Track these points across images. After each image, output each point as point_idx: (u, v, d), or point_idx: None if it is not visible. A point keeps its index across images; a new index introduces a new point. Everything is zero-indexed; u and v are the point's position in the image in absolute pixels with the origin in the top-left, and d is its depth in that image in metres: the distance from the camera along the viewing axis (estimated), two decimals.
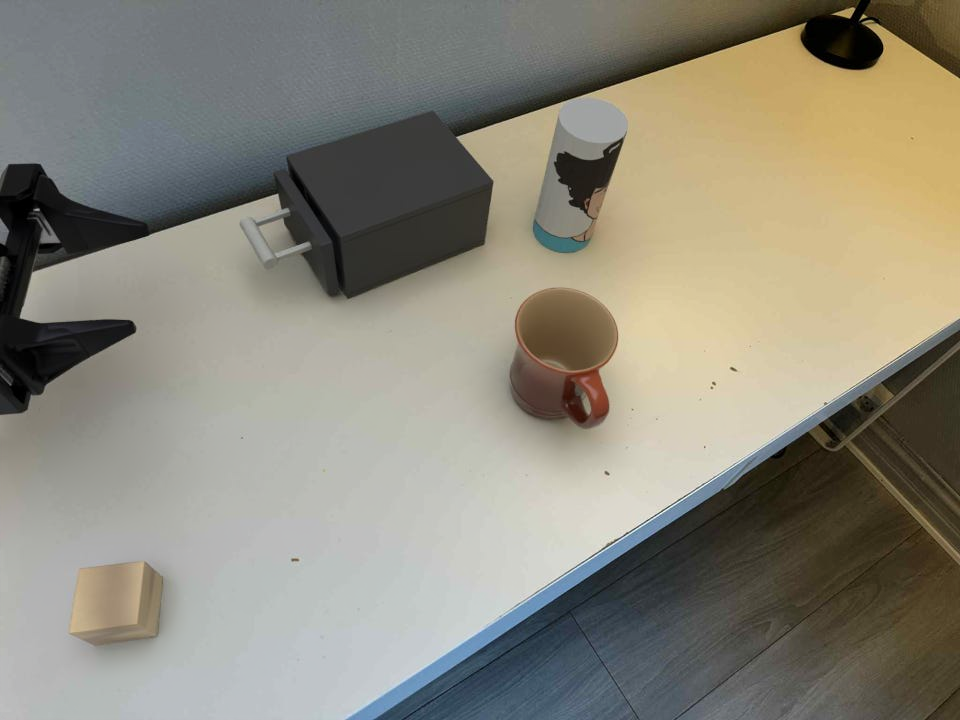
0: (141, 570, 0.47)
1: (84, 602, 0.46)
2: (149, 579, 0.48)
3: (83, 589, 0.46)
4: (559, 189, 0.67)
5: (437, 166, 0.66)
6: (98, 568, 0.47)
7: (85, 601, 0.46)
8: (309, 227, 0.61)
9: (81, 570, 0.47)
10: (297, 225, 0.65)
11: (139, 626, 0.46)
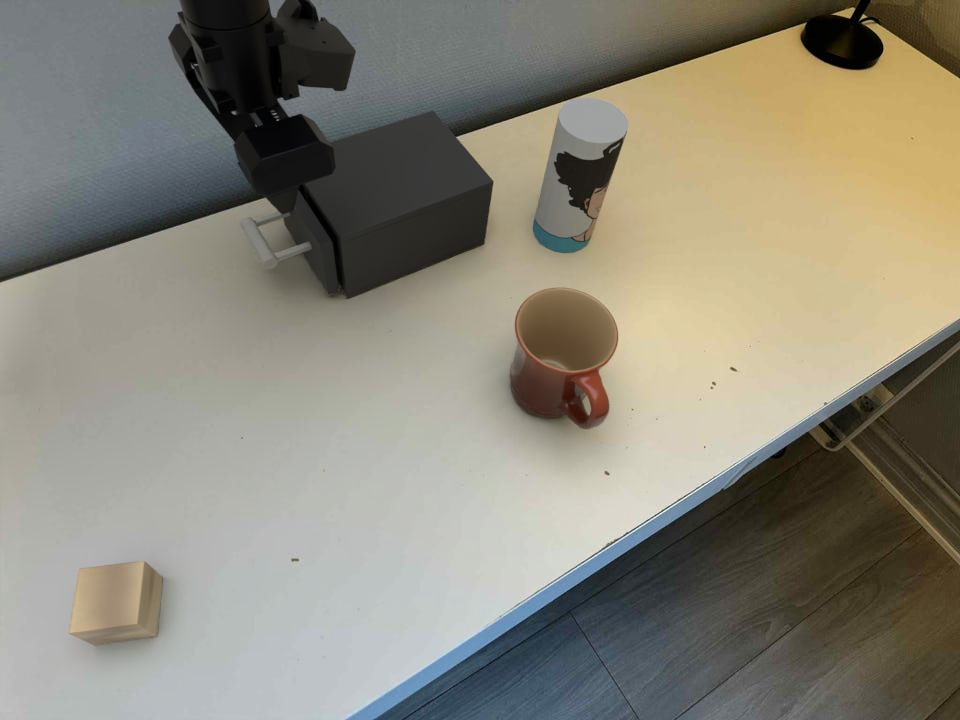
0: (141, 570, 0.47)
1: (84, 602, 0.46)
2: (149, 579, 0.48)
3: (83, 589, 0.46)
4: (559, 189, 0.67)
5: (437, 166, 0.66)
6: (98, 568, 0.47)
7: (85, 601, 0.46)
8: (309, 227, 0.61)
9: (81, 570, 0.47)
10: (297, 225, 0.65)
11: (139, 626, 0.46)
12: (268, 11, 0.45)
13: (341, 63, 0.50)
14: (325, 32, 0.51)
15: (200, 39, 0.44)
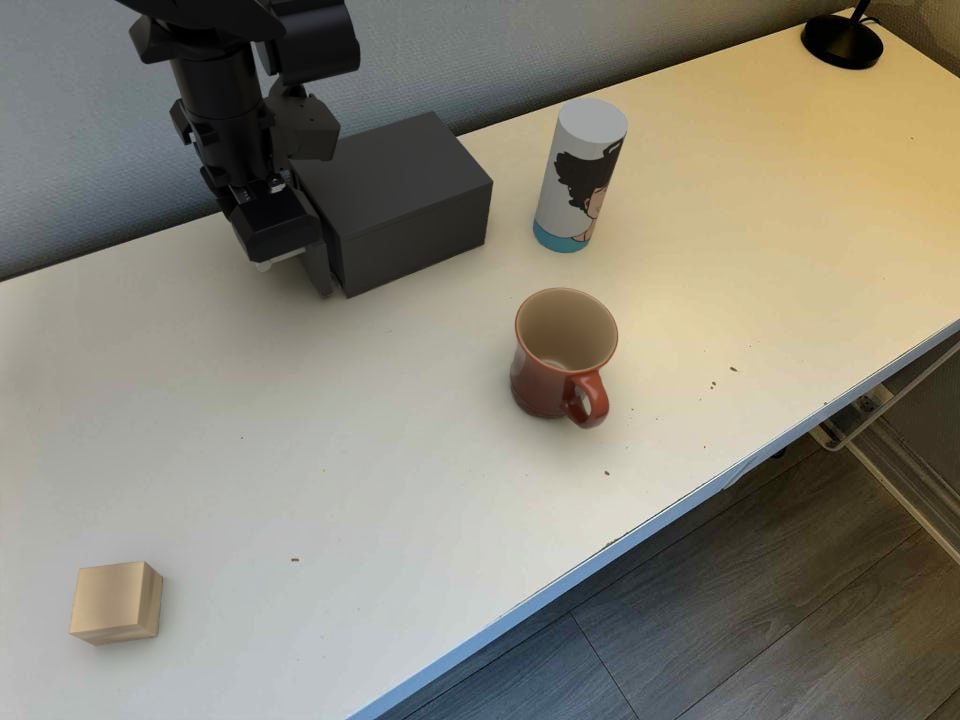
0: (141, 570, 0.47)
1: (84, 602, 0.46)
2: (149, 579, 0.48)
3: (83, 589, 0.46)
4: (559, 189, 0.67)
5: (437, 166, 0.66)
6: (98, 568, 0.47)
7: (85, 601, 0.46)
8: None
9: (81, 570, 0.47)
10: None
11: (139, 626, 0.46)
12: (260, 99, 0.50)
13: (327, 138, 0.55)
14: (313, 109, 0.56)
15: (198, 126, 0.49)
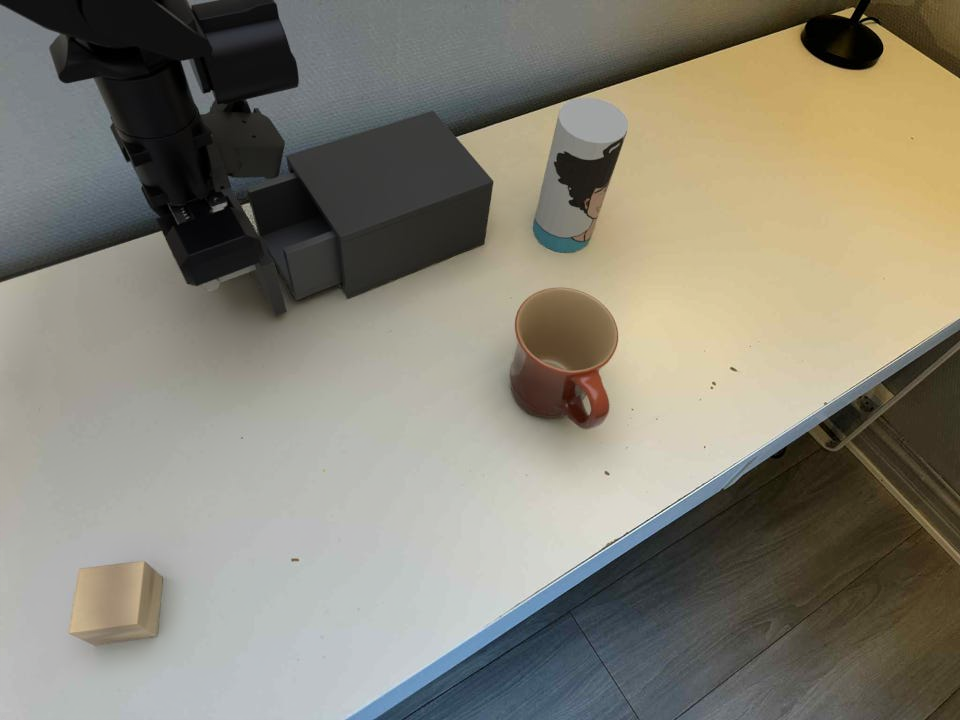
0: (141, 570, 0.47)
1: (84, 602, 0.46)
2: (149, 579, 0.48)
3: (83, 589, 0.46)
4: (559, 189, 0.67)
5: (437, 166, 0.66)
6: (98, 568, 0.47)
7: (85, 601, 0.46)
8: None
9: (81, 570, 0.47)
10: None
11: (139, 626, 0.46)
12: (194, 116, 0.48)
13: (270, 155, 0.53)
14: (256, 125, 0.54)
15: (129, 145, 0.48)
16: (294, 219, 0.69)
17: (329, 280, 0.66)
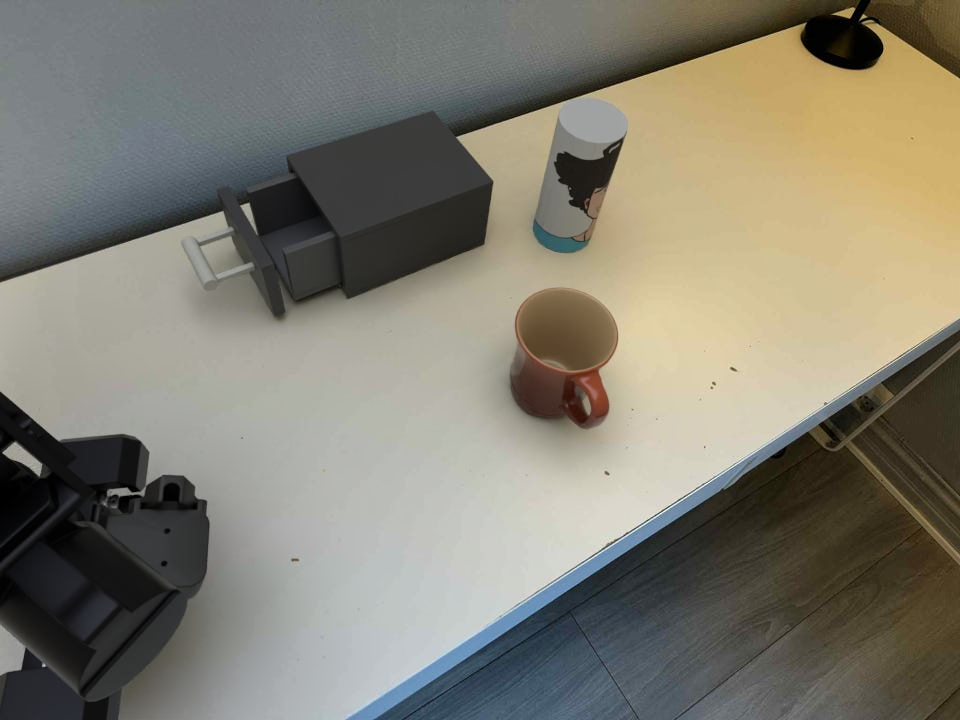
0: None
1: None
2: None
3: None
4: (559, 189, 0.67)
5: (437, 166, 0.66)
6: None
7: None
8: (250, 248, 0.59)
9: None
10: (241, 244, 0.63)
11: None
12: None
13: None
14: (181, 537, 0.41)
15: None
16: (293, 219, 0.69)
17: (329, 280, 0.66)
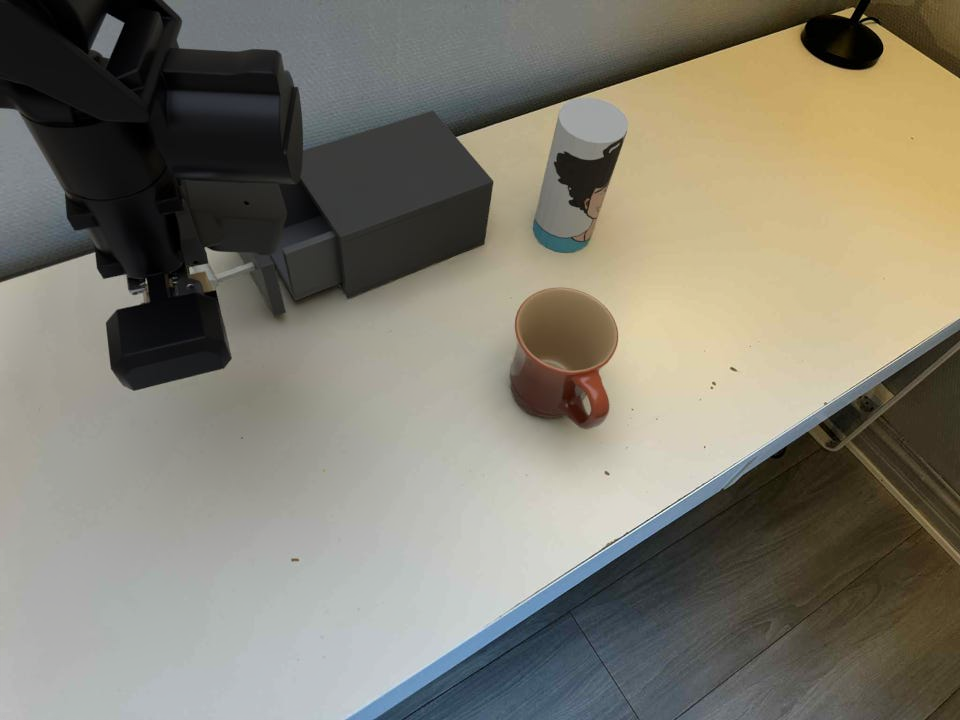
0: (204, 278, 0.48)
1: None
2: None
3: None
4: (559, 189, 0.67)
5: (437, 166, 0.66)
6: None
7: None
8: None
9: None
10: None
11: None
12: (162, 175, 0.36)
13: (265, 229, 0.41)
14: (255, 187, 0.42)
15: (72, 202, 0.36)
16: (293, 219, 0.69)
17: (329, 280, 0.66)
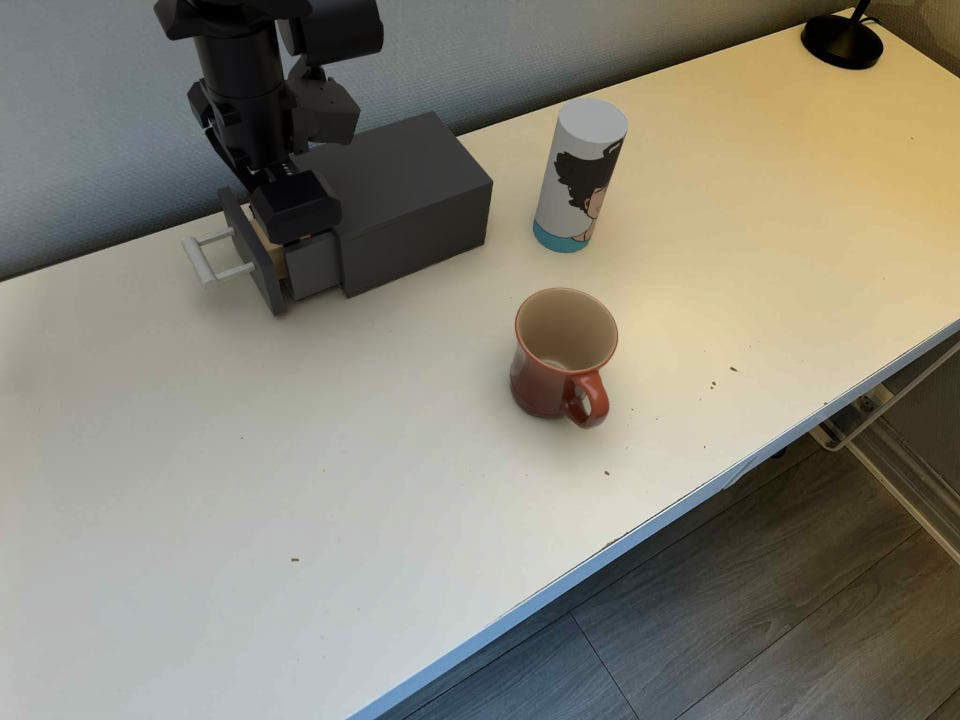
0: None
1: None
2: None
3: (260, 229, 0.63)
4: (559, 189, 0.67)
5: (437, 166, 0.66)
6: None
7: None
8: (250, 248, 0.59)
9: (251, 221, 0.63)
10: (241, 244, 0.63)
11: None
12: (282, 79, 0.50)
13: (347, 121, 0.55)
14: (332, 92, 0.56)
15: (220, 105, 0.49)
16: None
17: (329, 280, 0.66)
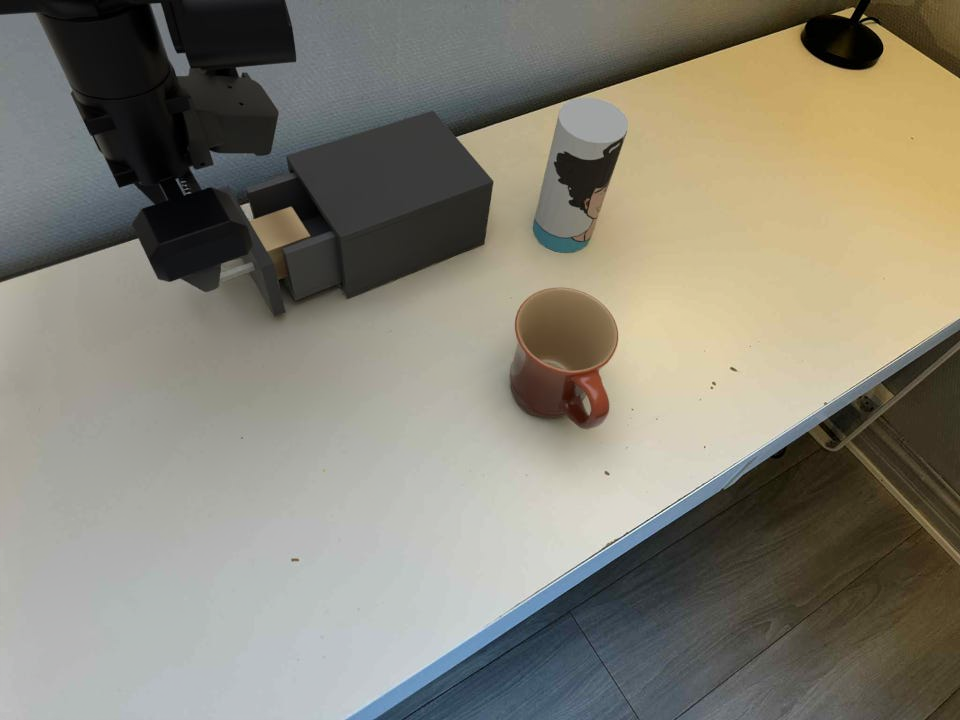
0: (292, 211, 0.65)
1: (265, 234, 0.63)
2: None
3: (260, 229, 0.63)
4: (559, 189, 0.67)
5: (437, 166, 0.66)
6: (262, 217, 0.64)
7: (266, 234, 0.63)
8: None
9: (251, 221, 0.63)
10: None
11: None
12: (168, 75, 0.40)
13: (261, 127, 0.45)
14: (244, 91, 0.45)
15: (87, 108, 0.39)
16: None
17: (329, 280, 0.66)
